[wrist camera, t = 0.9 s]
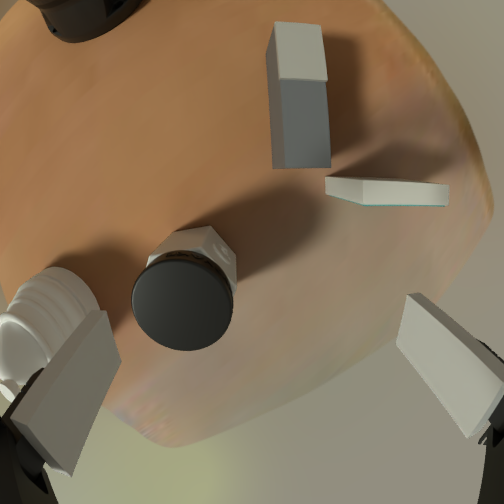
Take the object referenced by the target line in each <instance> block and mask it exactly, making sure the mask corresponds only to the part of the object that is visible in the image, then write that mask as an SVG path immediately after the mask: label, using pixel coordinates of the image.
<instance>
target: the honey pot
mask: <svg viewBox="0 0 504 504" xmlns="http://www.w3.org/2000/svg"><path fill="white" fill-rule="evenodd" d="M91 310H100V308H99V305H98V303H97V300H96V298H95V296H94V295H93V293H92V291H91V290H90V288H89V287H88V286H87V285H86V284H85V282H84V281H83V280H82V279H81V278H80V277H78V276H77V275H76V274H74V273H73V272H71V271H69V270H67V269H64V268H62V267H50V268H46V269H44V270H43V271H41V272H40V273H38V274H36V275H35V276H33V277H32V278H30V279H29V280H28V281H26V282H25V283H24V284H22V285H21V286H20V287H19V289H18V291H17V293H16V295H15V297H14V298H13V300H12V302H11V303H10V304H9V306H8V308H7V312H3V313H2V314H1V315H0V379H1V380H3V381H2V382H1V383H0V391H1V393H2V394H3V395H4V396H5V398H6V399H8V400H9V401H10V402H13V400H14V399H15V397H16V396H17V395H18V393H19V392H20V389H19V386H18V385H24V384H26V382H27V381H28V380H29V378H30V377H31V376H32V374H34V373H35V372H37V371H38V370H39V369H41V368H45V367H46V366H47V364H48V363H49V362H50V360H51V359H52V358H53V357H54V355H55V354H56V353H57V351H58V350H59V349H60V348H61V346H62V345H63V344H64V343H65V341H66V340H67V339H68V338H69V336H70V335H71V334H72V333H73V332H74V330H75V329H76V328H77V327H78V325H79V324H80V323H81V322H82V321H83V320H84V318H85V317H86V316H87V315H88V314H89V313H90V311H91Z"/></svg>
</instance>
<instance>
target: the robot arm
mask: <svg viewBox="0 0 504 504" xmlns="http://www.w3.org/2000/svg"><path fill="white" fill-rule="evenodd" d="M27 1H28V2H30V3H31V4H33V5H35V6H36V7H37V8H39V9H40V11H41V13H42V16H43V18H44V20H45V22H46V24H47V26H48V29H49V30H50V32H51V33H52V34H53V35H54V36H56V37H57V38H59V39H60V40H62V41H64V42H68V43H79V42H84V41H88V40H91V39H93V38H96V37H98V36H100V35H102V34H104V33H106V32H107V31H109V30H111V29H112V28H114V27H115V26H117V25H118V24H120V23H121V22H122V21H123V20H125V19H126V18H127V17H128V16H129V15H130V14H131V13H132V12H133V11H134V10H135V9H136V8H137V7H138V5H139V4H140V3H141V1H142V0H27ZM396 346H397V347H398V348H399V349H400V351H401V352H402V353H403V354H404V356H405V357H406V358H407V359H408V361H409V362H410V363H411V364H412V366H413V367H414V368H415V369H416V371H417V372H418V373H419V374H420V376H421V377H422V378H423V380H424V381H425V382H426V383H427V385H428V386H429V387H430V389H431V390H432V391H433V393H434V394H435V395H436V397H437V398H438V399H439V401H440V402H441V403H442V405H443V406H444V407H445V409H446V410H447V411H448V413H449V414H450V416H451V417H452V418H453V420H454V421H455V422H456V424H457V425H458V427H459V428H460V430H461V431H462V432H463V434H464V435H465V436H466V438H467V439H468V438H469V437H471V436H472V435H474V434H476V433H478V432H479V431H480V430H481V429H482V428H483V426H484V425H485V423H486V422H487V421H488V420H489V421H490V423H491V425H490V426H489V428H488V429H487V430H486V432H485V433H484V434H483V436H482V437H481V438H480V440H479V442H478V444H481V443H482V441H483V440H484V439H485V437H487V440H486V441H485V442H484V444H483V445H486V455H485V464H484V471H483V478H482V484H481V489H480V494H479V499H478V503H477V504H504V361H503V360H502V359H501V358H500V357H498V356H497V354H496V353H495V352H494V351H492V350H491V349H490V348H489V347H488V346H487V345H486V344H485V343H483V342H481V341H479V340H477V339H475V338H474V337H473V336H472V335H471V334H470V333H469V332H467V331H466V330H465V329H464V328H463V327H462V326H460V325H459V324H458V323H457V322H456V321H454V320H453V319H452V318H451V317H449V316H448V315H447V314H446V313H445V312H443V311H442V310H441V309H439V307H437V306H436V305H435V304H434V303H432V302H431V301H430V300H429V299H427V298H426V297H425V296H423V295H422V294H421V293H414V294H407V298H406V303H405V308H404V312H403V317H402V321H401V325H400V329H399V333H398V337H397V341H396ZM121 362H122V361H121V358H120V355H119V352H118V349H117V346H116V343H115V340H114V336H113V333H112V330H111V326H110V323H109V319H108V315H107V311H104V310H91V311H90V313H89V314H88V315H87V316H86V317H85V318H84V320H83V321H82V322H81V323H80V324H79V325H78V327H77V328H76V329H75V330H74V332H73V333H72V334H71V335H70V336H69V338H68V339H67V340H66V341H65V343H64V344H63V345H62V346H61V348H60V349H59V350H58V351H57V353H56V354H55V355H54V357H53V358H52V359H51V360H50V362H49V363H48V364H47V366H46V367H45V368H41V369H39V370H38V371H37V372H35V373H34V374H32V376H31V377H30V378H29V380H28V381H27V382H26V386H25V385H24V387H23V388H22V389H21V392H19V393H18V395H17V396H16V397H15V399H14V400H13V402H12V403H11V405H10V406H9V408H8V409H7V410H6V412H5V413H4V415H3V416H2V418H1V417H0V504H58V501H57V499H56V497H55V494H54V491H53V489H52V486H51V483H50V481H49V478H48V475H47V473H46V471H45V469H44V468H43V465H44V463H45V462H46V463H47V464H48V465H49V466H50V467H51V468H52V469H53V470H54V471H56V472H59V473H61V474H64V475H67V476H70V477H72V475H73V472H74V469H75V466H76V464H77V461H78V459H79V456H80V454H81V451H82V449H83V446H84V444H85V441H86V439H87V437H88V434H89V431H90V429H91V427H92V425H93V422H94V420H95V418H96V416H97V413H98V411H99V409H100V407H101V404H102V402H103V400H104V398H105V396H106V393H107V391H108V389H109V387H110V385H111V383H112V381H113V379H114V376H115V374H116V372H117V370H118V368H119V366H120V364H121Z"/></svg>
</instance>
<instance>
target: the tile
mask: <svg viewBox="0 0 504 504" xmlns="http://www.w3.org/2000/svg"><path fill="white" fill-rule="evenodd" d="M325 191H326V194H327V195H329V196H332V197H336V198H339V199H343V200H346V201H350V202H353V203H356V204H360V205H363V206H443V207H445V205H447V206H449V185H446V184H439V183H431V182H424V181H415V180H407V179H397V178H374V177H325Z"/></svg>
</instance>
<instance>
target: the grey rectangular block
mask: <svg viewBox="0 0 504 504" xmlns="http://www.w3.org/2000/svg"><path fill="white" fill-rule="evenodd" d="M266 65H267V79H268V95H269V111H270V128H271V146H272V167H273V169H290V168H331V149H330V131H329V116H328V103H327V92H326V82H327V81H328V78H327V69H326V61H325V53H324V46H323V39H322V32H321V26H320V25H314V24H305V23H292V22H275V24H274V27H273V30H272V34H271V37H270V41H269V44H268V47H267V51H266Z"/></svg>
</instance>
